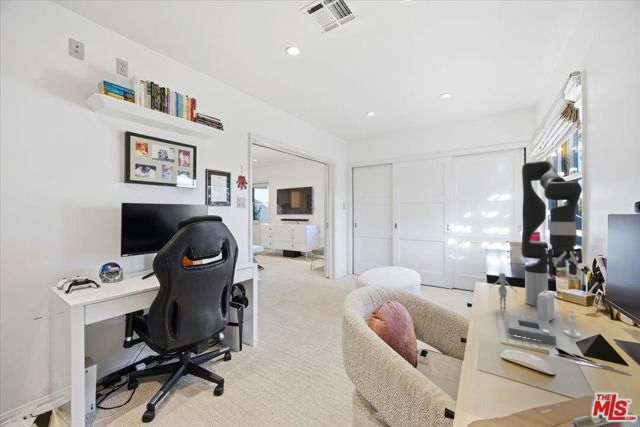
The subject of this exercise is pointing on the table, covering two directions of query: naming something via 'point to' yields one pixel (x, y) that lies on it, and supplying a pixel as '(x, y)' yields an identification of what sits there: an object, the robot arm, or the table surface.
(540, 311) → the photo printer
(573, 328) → the chess piece
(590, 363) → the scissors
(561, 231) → the robot arm
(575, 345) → the table surface
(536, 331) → the socket plate
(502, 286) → the human figurine
